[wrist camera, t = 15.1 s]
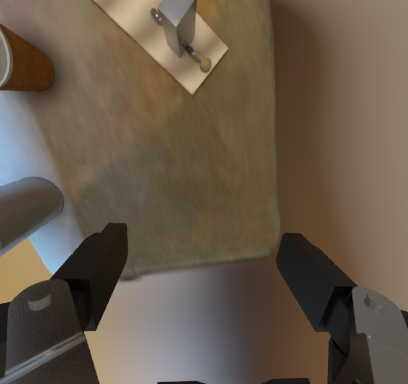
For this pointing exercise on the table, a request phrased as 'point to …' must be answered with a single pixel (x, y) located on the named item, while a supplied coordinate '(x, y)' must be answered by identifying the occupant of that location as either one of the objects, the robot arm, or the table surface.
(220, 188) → the table surface
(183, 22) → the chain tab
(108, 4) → the rail
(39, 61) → the disposable coffee cup
